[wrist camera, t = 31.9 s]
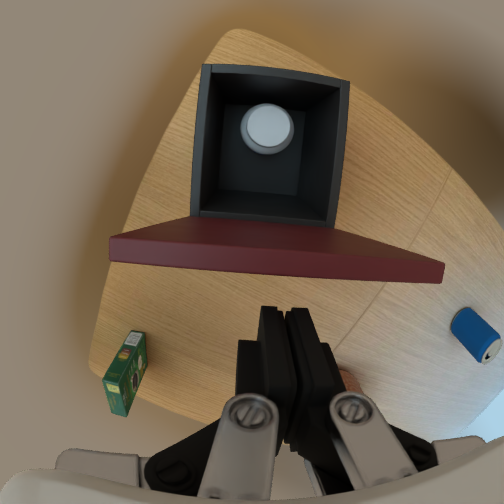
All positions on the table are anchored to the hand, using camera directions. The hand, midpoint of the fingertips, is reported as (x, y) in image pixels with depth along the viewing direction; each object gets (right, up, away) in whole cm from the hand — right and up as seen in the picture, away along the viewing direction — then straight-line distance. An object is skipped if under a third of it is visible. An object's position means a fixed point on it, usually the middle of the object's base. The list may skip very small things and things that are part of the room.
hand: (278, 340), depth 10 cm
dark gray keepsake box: (0, +16, +24) cm, 29 cm away
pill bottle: (0, +18, +22) cm, 29 cm away
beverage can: (+42, -11, +34) cm, 55 cm away
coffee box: (-21, -13, +34) cm, 42 cm away
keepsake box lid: (0, +4, +5) cm, 6 cm away
